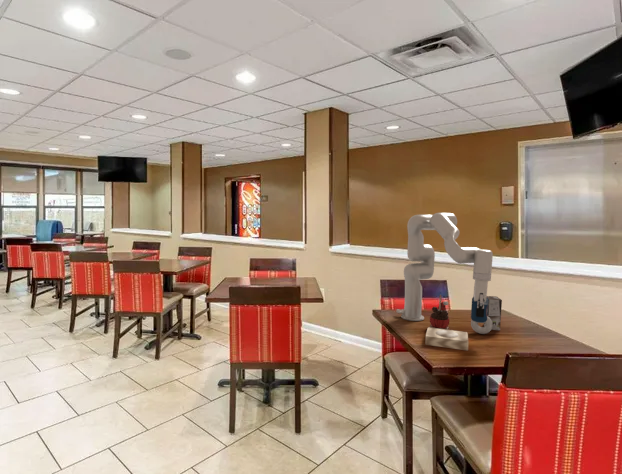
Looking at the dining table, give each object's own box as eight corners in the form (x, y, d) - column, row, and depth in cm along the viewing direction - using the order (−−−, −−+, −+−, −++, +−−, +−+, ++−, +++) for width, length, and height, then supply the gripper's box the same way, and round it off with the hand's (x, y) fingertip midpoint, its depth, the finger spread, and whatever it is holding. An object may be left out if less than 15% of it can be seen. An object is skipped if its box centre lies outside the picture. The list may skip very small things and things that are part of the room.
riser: (425, 344, 167) (425, 335, 167) (427, 335, 180) (427, 326, 180) (468, 350, 161) (468, 341, 160) (467, 340, 174) (467, 331, 174)
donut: (492, 334, 184) (493, 314, 183) (492, 336, 181) (493, 316, 180) (470, 331, 188) (471, 312, 187) (470, 333, 185) (471, 313, 184)
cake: (425, 326, 194) (426, 293, 193) (439, 325, 197) (440, 292, 196) (438, 333, 184) (440, 297, 183) (453, 331, 187) (455, 296, 186)
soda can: (490, 323, 166) (492, 297, 165) (475, 323, 165) (477, 297, 164) (481, 318, 173) (483, 293, 172) (467, 318, 172) (469, 293, 171)
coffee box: (500, 330, 190) (502, 299, 189) (487, 329, 191) (489, 299, 190) (495, 325, 199) (497, 296, 198) (482, 324, 200) (484, 295, 199)
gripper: (472, 272, 177) (469, 308, 178) (473, 279, 161) (471, 318, 162) (489, 274, 174) (486, 310, 176) (492, 280, 158) (489, 321, 159)
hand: (479, 314), depth 169 cm, fingers closed on soda can, 6 cm apart
